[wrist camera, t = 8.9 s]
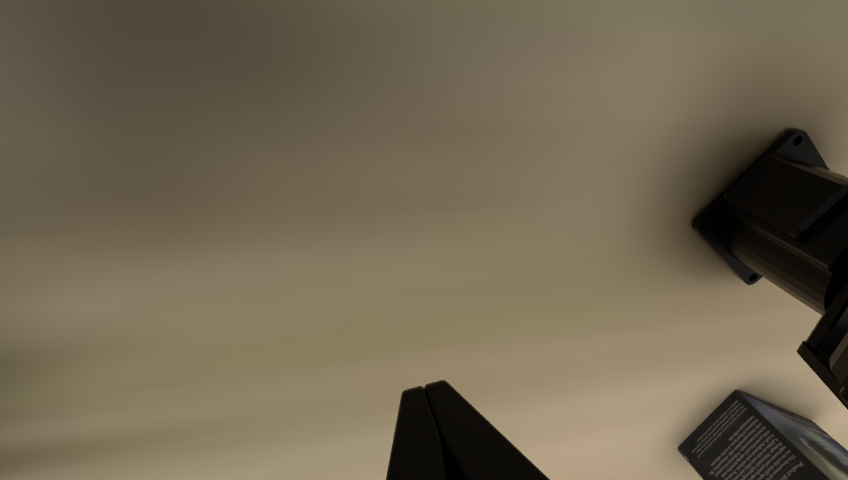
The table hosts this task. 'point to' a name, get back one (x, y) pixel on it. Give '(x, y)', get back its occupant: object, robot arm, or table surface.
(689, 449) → the small box
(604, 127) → the table surface
